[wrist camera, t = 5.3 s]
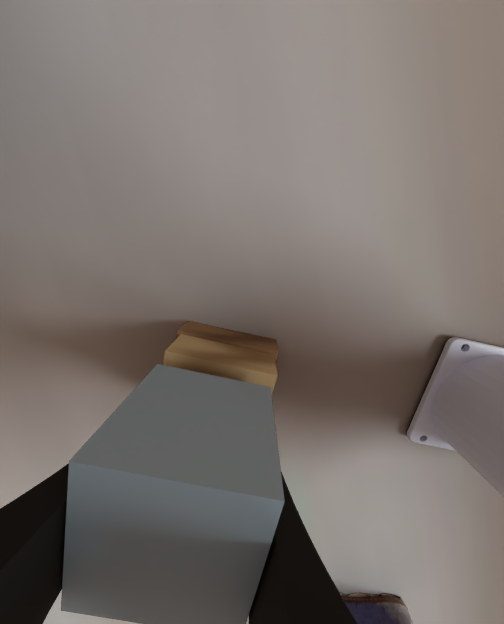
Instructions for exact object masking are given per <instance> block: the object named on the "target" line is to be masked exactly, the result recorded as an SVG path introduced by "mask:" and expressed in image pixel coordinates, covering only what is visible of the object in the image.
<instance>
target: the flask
mask: <svg viewBox="0 0 504 624" xmlns="http://www.w3.org/2000/svg"><path fill="white" fill-rule="evenodd" d="M340 595H341V596H342V598H343V600H344V601H345V603H346V605H347V606H348V608H349V610H350V612H351V613H352V615H353V617H354V618H355V620H356V622H357V623H358V624H413V622H412V620H411V617H410V615H409V612H408V609H407V607H406V605H405V604H404V602H403V601H402V599H401V598H400V599H399V598H398V597H395V596H394V595H389V594H383V593H382V594H381V595H382V596H381V597H380V595H371V594H366V593H352V594H350V595H348V596H347V595H346V596H345V595H343V594H342V593H340Z"/></svg>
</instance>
